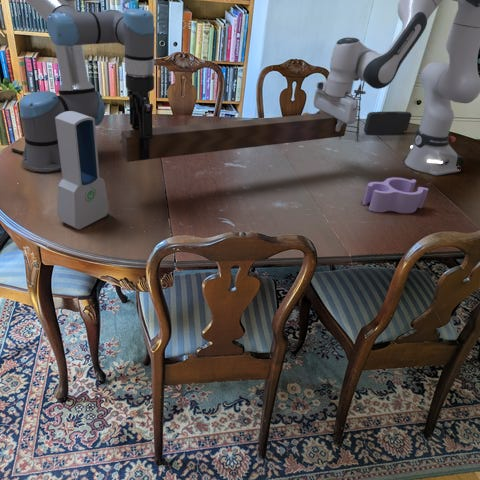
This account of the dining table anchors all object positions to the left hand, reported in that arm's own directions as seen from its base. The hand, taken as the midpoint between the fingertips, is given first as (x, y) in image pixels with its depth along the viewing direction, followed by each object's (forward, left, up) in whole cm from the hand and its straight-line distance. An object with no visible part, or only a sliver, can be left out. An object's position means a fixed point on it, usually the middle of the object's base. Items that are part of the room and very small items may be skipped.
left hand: (141, 154), depth 137 cm
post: (+29, +21, -1) cm, 35 cm away
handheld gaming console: (+88, +95, -15) cm, 130 cm away
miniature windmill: (+70, +83, -15) cm, 109 cm away
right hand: (+57, +41, +2) cm, 70 cm away
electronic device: (-12, -16, -15) cm, 25 cm away
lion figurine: (+53, +90, -15) cm, 105 cm away
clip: (+80, +20, -15) cm, 84 cm away
